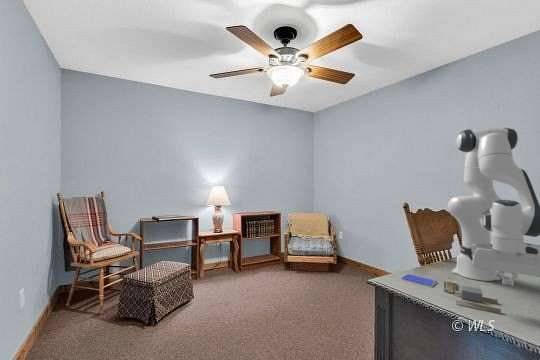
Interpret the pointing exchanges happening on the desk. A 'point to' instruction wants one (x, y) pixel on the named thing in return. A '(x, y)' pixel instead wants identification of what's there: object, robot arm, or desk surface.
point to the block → (471, 294)
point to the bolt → (450, 285)
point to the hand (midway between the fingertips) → (507, 284)
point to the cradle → (474, 304)
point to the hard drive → (419, 280)
